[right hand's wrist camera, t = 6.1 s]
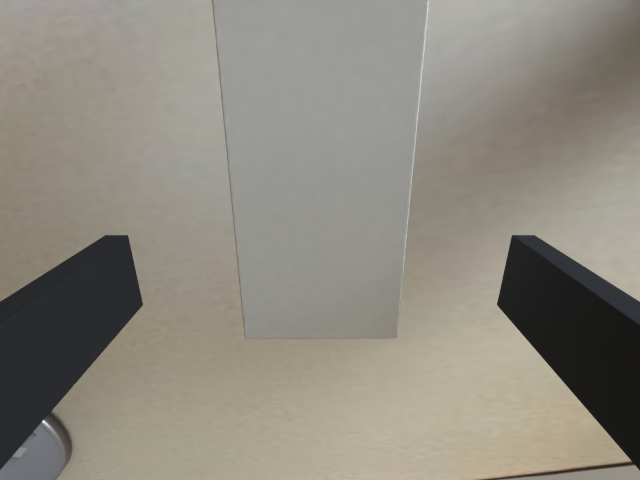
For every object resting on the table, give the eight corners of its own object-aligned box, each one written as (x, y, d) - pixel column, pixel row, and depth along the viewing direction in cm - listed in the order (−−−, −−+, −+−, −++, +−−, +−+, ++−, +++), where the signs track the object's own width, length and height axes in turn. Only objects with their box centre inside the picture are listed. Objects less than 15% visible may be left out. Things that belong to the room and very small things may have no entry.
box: (366, 243, 23) (397, 339, 14) (274, 243, 23) (244, 339, 14) (391, -259, 14) (511, -859, 5) (247, -258, 14) (127, -858, 5)
